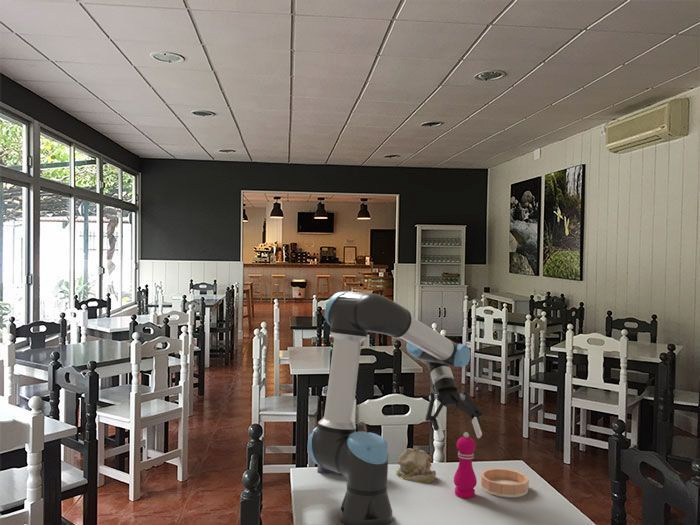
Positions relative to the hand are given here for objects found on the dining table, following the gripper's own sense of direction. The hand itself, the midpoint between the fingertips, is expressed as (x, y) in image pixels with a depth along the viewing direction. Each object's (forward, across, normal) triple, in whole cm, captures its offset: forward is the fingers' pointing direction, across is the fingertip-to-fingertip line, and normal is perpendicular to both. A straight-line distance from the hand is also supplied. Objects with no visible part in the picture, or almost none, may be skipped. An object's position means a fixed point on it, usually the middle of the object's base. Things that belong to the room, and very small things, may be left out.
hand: (461, 437), depth 198 cm
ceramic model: (+3, +11, -21) cm, 24 cm away
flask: (-3, +39, -27) cm, 47 cm away
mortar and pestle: (+1, +28, -22) cm, 35 cm away
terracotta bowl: (+14, -14, -9) cm, 22 cm away
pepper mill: (+16, +1, -7) cm, 18 cm away
